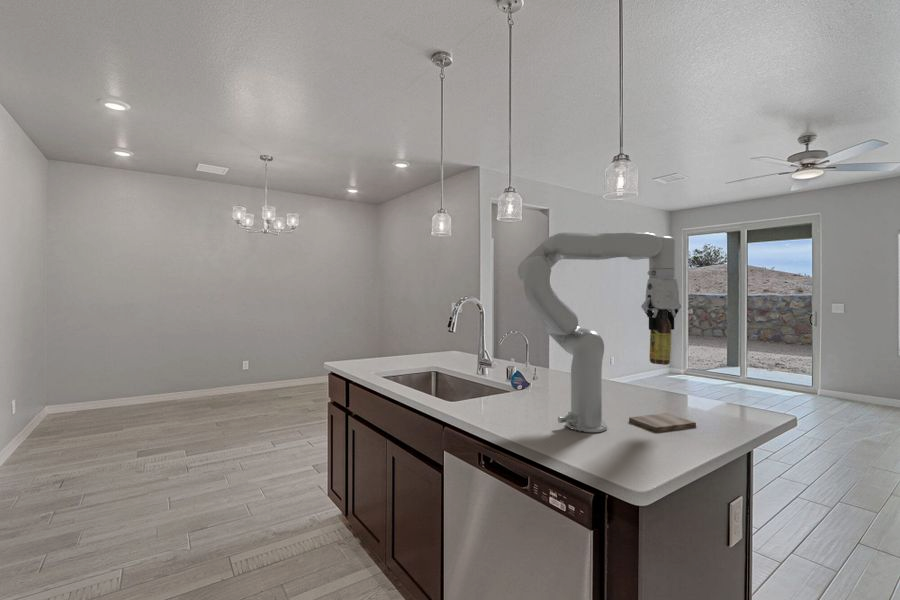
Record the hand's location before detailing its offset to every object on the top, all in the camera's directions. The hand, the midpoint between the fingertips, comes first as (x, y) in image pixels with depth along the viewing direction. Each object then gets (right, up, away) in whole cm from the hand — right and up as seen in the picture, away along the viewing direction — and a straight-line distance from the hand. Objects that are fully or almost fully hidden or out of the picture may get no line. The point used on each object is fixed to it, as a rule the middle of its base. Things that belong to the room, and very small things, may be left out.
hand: (661, 329), depth 144 cm
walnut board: (0, -31, 0) cm, 31 cm away
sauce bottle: (0, -12, 0) cm, 12 cm away
